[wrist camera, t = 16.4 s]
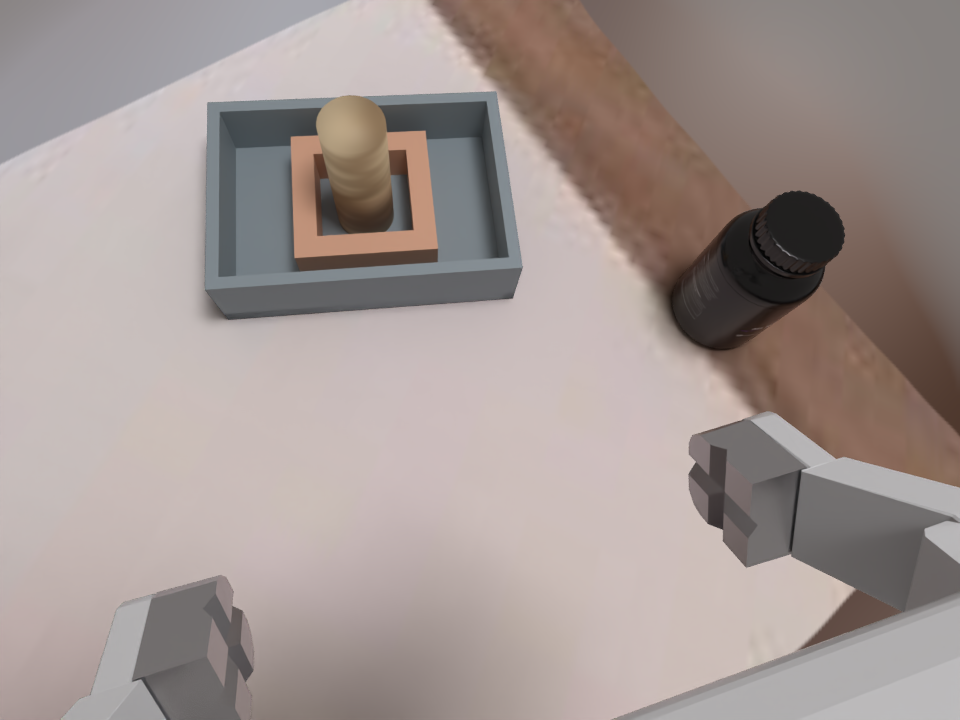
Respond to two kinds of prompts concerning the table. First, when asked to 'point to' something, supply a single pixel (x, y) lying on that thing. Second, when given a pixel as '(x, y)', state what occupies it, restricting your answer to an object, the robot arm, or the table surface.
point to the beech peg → (357, 163)
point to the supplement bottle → (757, 269)
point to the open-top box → (314, 220)
